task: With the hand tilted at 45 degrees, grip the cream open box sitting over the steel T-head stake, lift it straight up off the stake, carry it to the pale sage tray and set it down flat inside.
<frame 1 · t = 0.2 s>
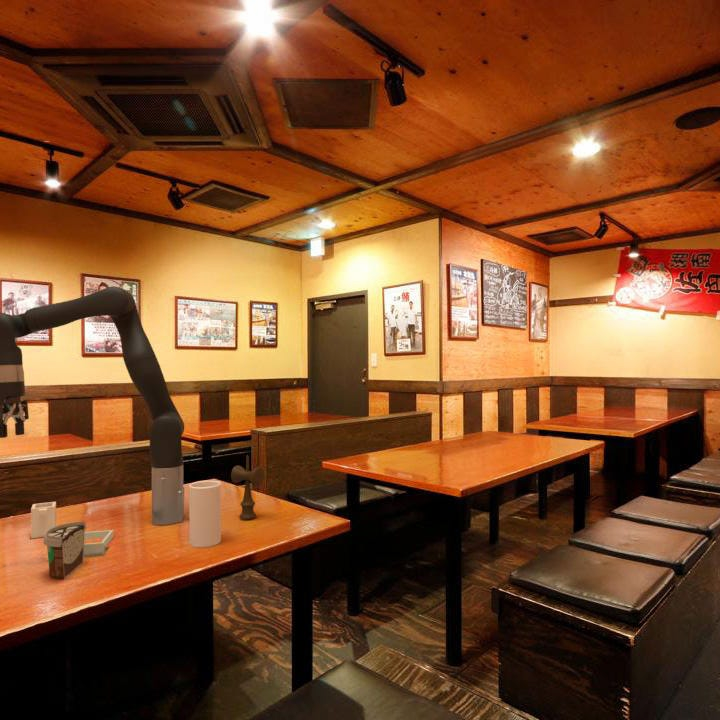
hand: (11, 436, 148), 28 cm above the table, fingers open, 8 cm apart
food container: (60, 572, 119), on the table
stake stand: (48, 538, 142), on the table
cup: (205, 542, 138), on the table
tray: (87, 549, 133), on the table
cream open box: (43, 533, 141), point 1 cm above the table, touching stake stand
kendama: (247, 519, 159), on the table
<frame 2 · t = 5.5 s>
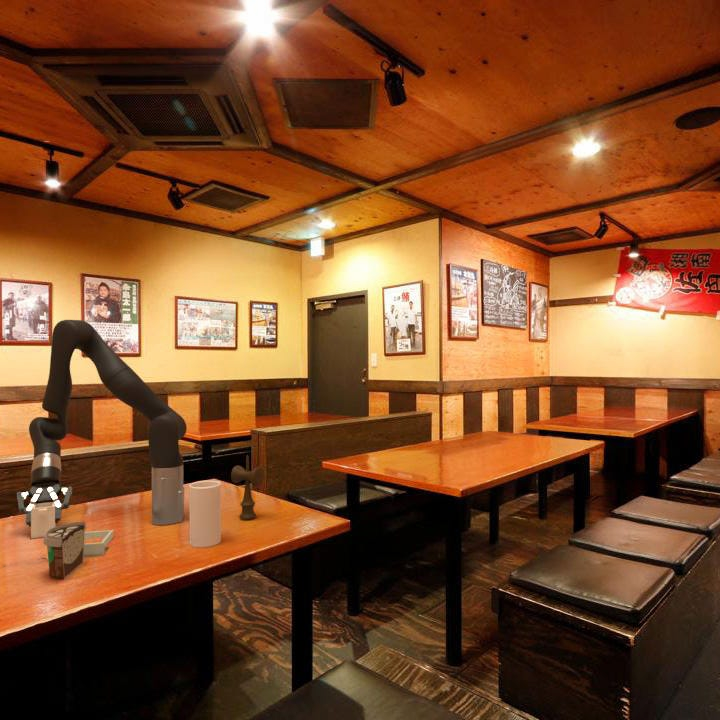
hand: (43, 523, 140), 5 cm above the table, fingers closed on cream open box, 5 cm apart
cream open box: (43, 533, 141), point 2 cm above the table, touching gripper, stake stand
everything else where it was.
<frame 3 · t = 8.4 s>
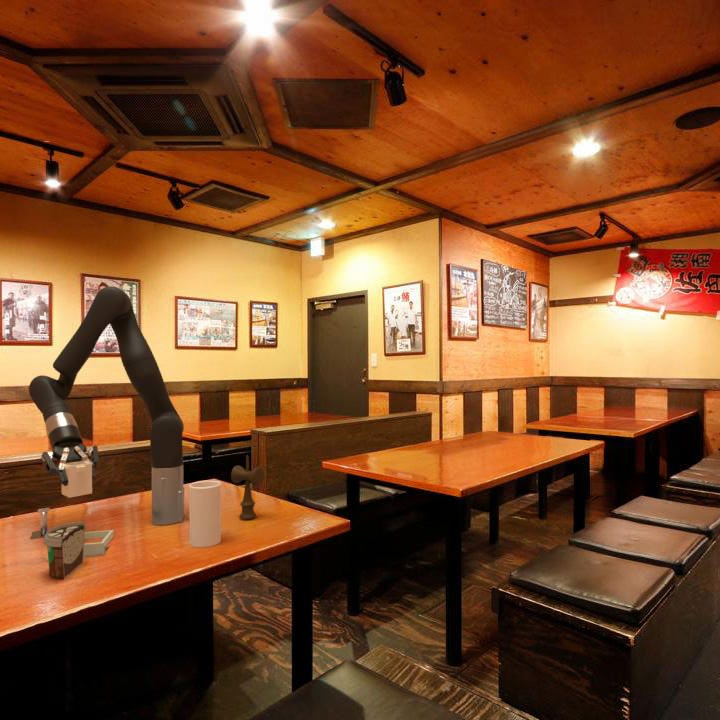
hand: (79, 481, 133), 18 cm above the table, fingers closed on cream open box, 5 cm apart
cream open box: (76, 493, 134), point 15 cm above the table, touching gripper
everything else where it was.
when the fingers open (6 cm above the table, at t = 11.6 s): cream open box drops 1 cm, resting on tray.
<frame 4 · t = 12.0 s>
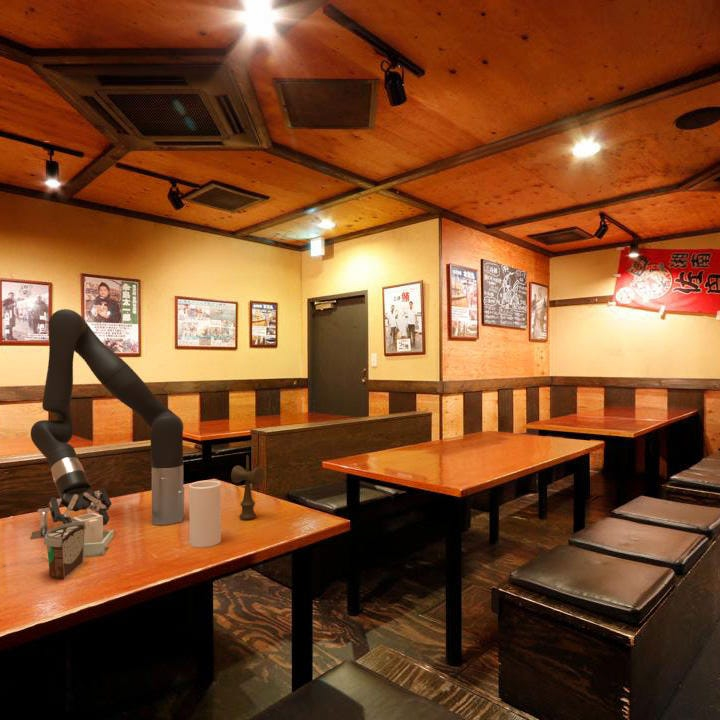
hand: (89, 527, 132), 6 cm above the table, fingers open, 8 cm apart
cream open box: (87, 546, 133), point 1 cm above the table, touching tray
everything else where it was.
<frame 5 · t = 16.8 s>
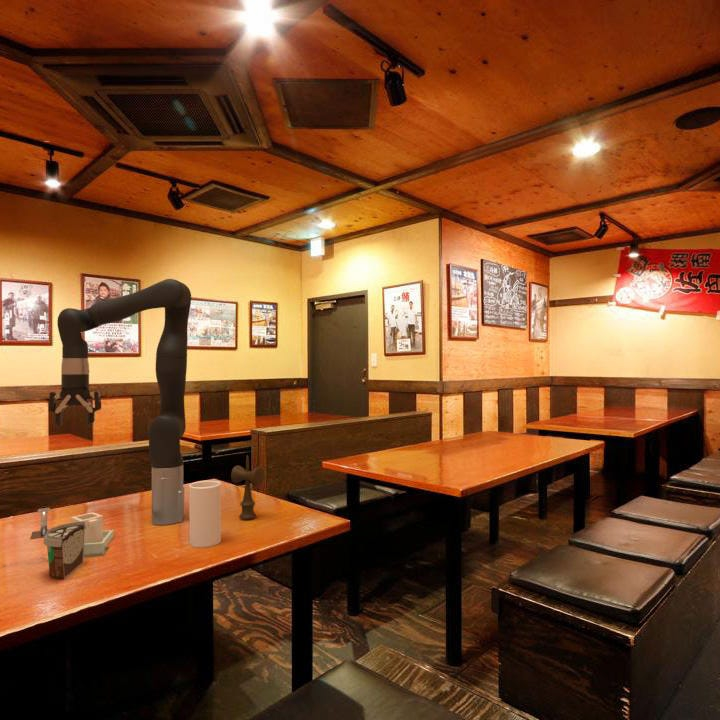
hand: (75, 424, 157), 30 cm above the table, fingers open, 8 cm apart
nothing on the table moved.
at the end: cream open box inside the target area on the tray (0.1 cm from its centre), point 0.8 cm above the tray's base; cream open box tilted 0°; the gripper is holding nothing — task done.
